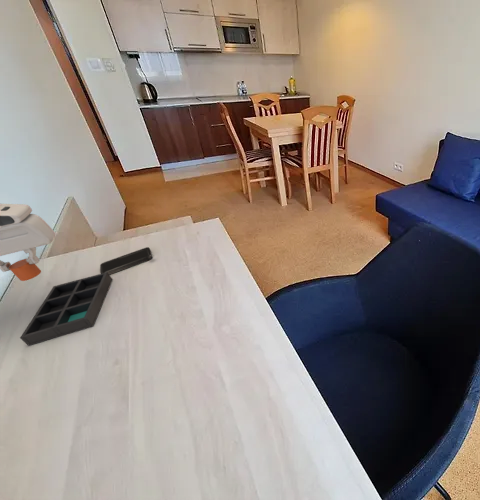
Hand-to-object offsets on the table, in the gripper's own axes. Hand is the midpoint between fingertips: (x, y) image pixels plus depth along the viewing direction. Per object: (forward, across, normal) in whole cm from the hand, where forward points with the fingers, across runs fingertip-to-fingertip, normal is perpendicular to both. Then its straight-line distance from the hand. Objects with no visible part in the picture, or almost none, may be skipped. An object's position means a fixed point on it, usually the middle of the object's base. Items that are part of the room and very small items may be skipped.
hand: (22, 266), depth 78 cm
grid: (+16, +4, -2) cm, 16 cm away
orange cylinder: (+3, 0, 0) cm, 3 cm away
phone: (+16, +14, +17) cm, 27 cm away
